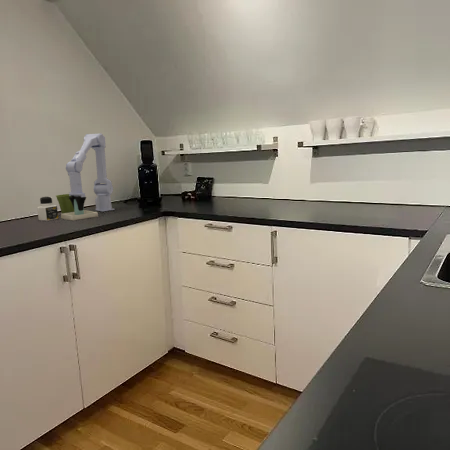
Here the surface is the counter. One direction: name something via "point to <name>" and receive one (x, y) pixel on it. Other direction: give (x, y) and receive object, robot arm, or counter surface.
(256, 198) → the counter surface
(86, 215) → the cream tray
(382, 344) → the counter surface
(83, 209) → the pale teal cylinder
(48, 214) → the medicine bottle
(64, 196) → the plant pot
